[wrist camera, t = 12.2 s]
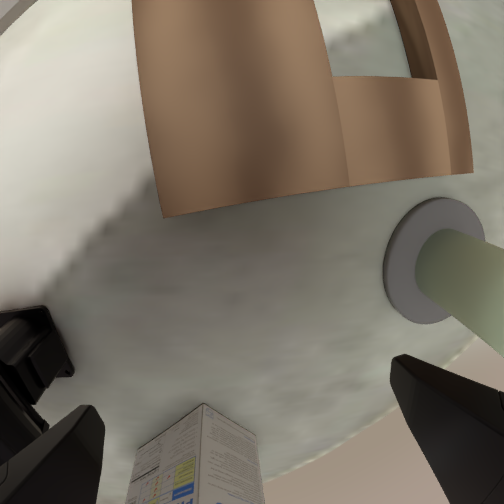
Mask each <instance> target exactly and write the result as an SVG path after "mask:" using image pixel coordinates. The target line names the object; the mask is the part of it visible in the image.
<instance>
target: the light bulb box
mask: <svg viewBox="0 0 504 504" xmlns="http://www.w3.org/2000/svg"><path fill="white" fill-rule="evenodd" d="M125 504H265V500H264V493H263V487H262V479H261V472H260V464H259V458H258V450H257V443H256V436H255V435H254V434H252V433H251V432H249V431H247V430H246V429H244V428H242V427H240V426H239V425H237V424H235V423H234V422H232V421H230V420H229V419H227V418H226V417H224V416H223V415H221V414H219V413H218V412H216V411H215V410H213V409H211V408H210V407H208V406H207V405H205V404H202V405H201V406H199V407H198V408H197V409H195V410H194V411H193V412H191V413H190V414H189V415H187V416H186V417H184V418H183V419H182V420H180V421H179V422H178V423H176V424H175V425H173V426H172V427H171V428H169V429H168V430H166V431H165V432H163V433H162V434H161V435H159V436H158V437H156V438H155V439H153V440H152V441H150V442H149V443H147V444H146V445H144V446H143V447H141V448H140V449H138V450H137V454H136V458H135V462H134V467H133V471H132V476H131V480H130V485H129V489H128V493H127V498H126V503H125Z"/></svg>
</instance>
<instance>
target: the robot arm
mask: <svg viewBox="0 0 504 504" xmlns="http://www.w3.org/2000/svg"><path fill="white" fill-rule="evenodd" d="M41 311H42V312H43V313H44V314H42V312H41ZM73 374H74V369H73V367H72V365H71V363H70V361H69V358H68V356H67V354H66V352H65V350H64V348H63V345H62V343H61V341H60V339H59V336H58V334H57V332H56V329H55V327H54V325H53V322H52V320H51V317H50V315H49V312H48V310H47V308H46V307H44V306H36V307H30V308H23V309H16V310H9V311H2V312H0V504H96V499H97V493H98V487H99V482H100V476H101V470H102V460H103V448H104V437H105V425H104V422H103V421H102V419H101V417H100V416H99V414H98V412H97V411H96V409H95V407H94V406H92V405H80V406H79V407H77V408H76V409H75V410H73V411H72V412H71V413H70V414H68V415H67V416H66V417H64V418H63V419H62V420H61V421H59V422H58V423H57V424H55V425H54V426H53V427H52V428H50V429H49V424H48V423H47V422H46V421H45V420H43V419H42V417H41V416H40V415H39V414H38V413H37V412H36V410H35V409H34V408H33V407H32V406H31V405H36V403H37V402H38V400H39V399H40V397H41V396H42V394H43V393H44V391H45V390H46V388H49V386H50V385H51V383H52V382H53V380H54V379H55V377H72V376H73ZM390 384H391V387H392V389H393V392H394V394H395V396H396V399H397V401H398V403H399V406H400V408H401V410H402V413H403V415H404V418H405V420H406V422H407V425H408V426H409V428H410V430H411V432H412V434H413V436H414V437H415V439H416V441H417V442H418V445H419V446H420V448H421V450H422V452H423V454H424V455H425V457H426V459H427V461H428V463H429V465H430V467H431V468H432V470H433V472H434V474H435V476H436V478H437V480H438V481H439V483H440V485H441V487H442V489H443V491H444V493H445V495H446V497H447V499H448V500H449V503H450V504H504V392H502V391H499V392H498V390H496V389H494V388H491V387H488V386H486V385H483V384H480V383H478V382H475V381H472V380H470V379H467V378H465V377H462V376H460V375H457V374H455V373H452V372H449V371H447V370H444V369H442V368H439V367H437V366H434V365H432V364H429V363H427V362H424V361H422V360H420V359H417V358H415V357H412V356H410V355H407V354H402V355H399V356H396V357H394V358H393V359H392V362H391V372H390Z"/></svg>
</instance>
